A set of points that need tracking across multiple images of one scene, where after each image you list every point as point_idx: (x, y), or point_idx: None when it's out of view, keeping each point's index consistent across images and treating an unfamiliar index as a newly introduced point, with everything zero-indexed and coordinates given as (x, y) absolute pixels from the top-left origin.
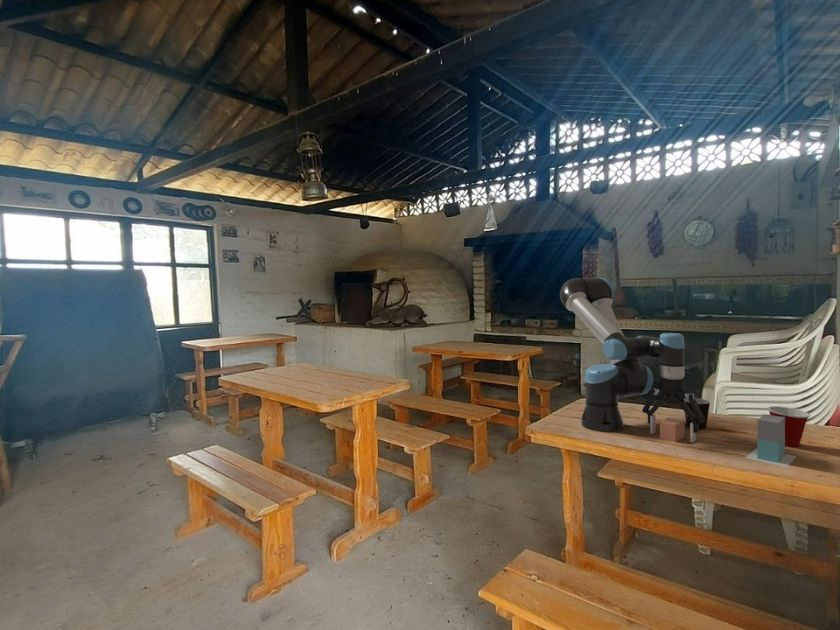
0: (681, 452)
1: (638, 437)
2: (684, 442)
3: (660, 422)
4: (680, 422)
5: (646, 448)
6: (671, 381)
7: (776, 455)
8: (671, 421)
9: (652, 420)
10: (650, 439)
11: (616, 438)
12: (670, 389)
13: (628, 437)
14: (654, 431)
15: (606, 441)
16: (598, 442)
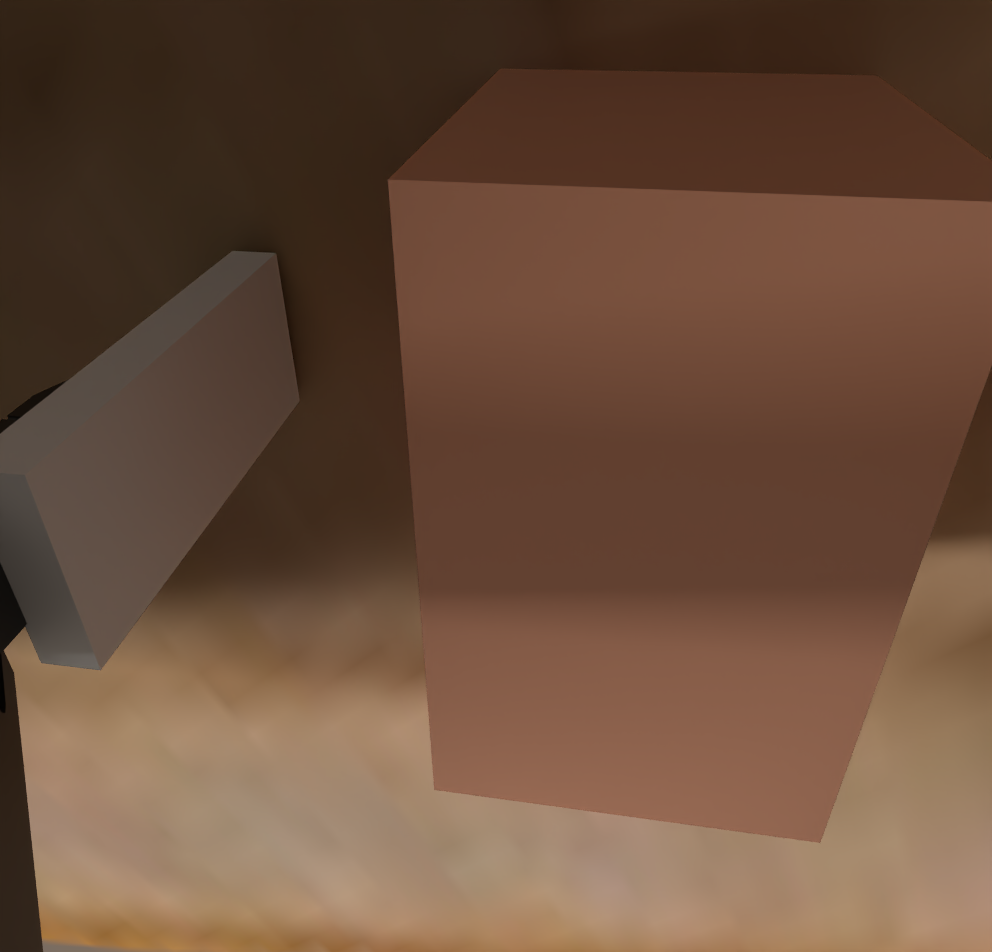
0: (930, 861)
1: (256, 641)
2: None
3: (450, 788)
4: (919, 559)
5: (537, 899)
6: None
7: None
8: (643, 614)
9: (163, 575)
10: (416, 633)
11: (128, 786)
12: None
13: (179, 700)
14: (275, 326)
15: (144, 887)
16: (125, 928)
